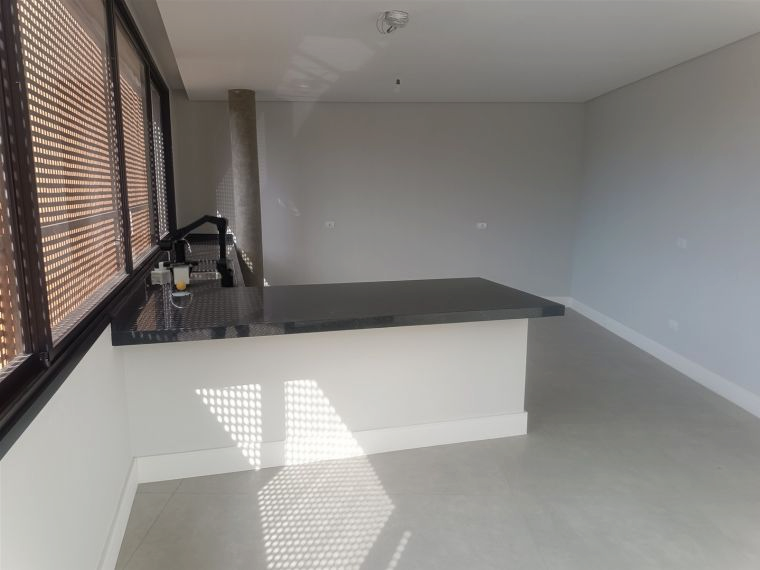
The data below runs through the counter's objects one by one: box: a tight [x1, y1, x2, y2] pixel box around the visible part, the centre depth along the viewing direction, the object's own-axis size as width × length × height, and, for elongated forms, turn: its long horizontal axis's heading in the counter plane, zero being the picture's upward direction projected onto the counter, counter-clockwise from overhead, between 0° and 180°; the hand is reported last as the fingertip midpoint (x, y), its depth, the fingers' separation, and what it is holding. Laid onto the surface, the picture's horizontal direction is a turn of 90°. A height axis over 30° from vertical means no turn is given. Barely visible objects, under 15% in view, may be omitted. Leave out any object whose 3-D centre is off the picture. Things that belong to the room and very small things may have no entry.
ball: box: [176, 281, 187, 291], centre depth 292 cm, size 5×5×5 cm
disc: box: [171, 291, 191, 297], centre depth 281 cm, size 10×10×1 cm
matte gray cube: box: [173, 265, 190, 285], centre depth 301 cm, size 8×8×9 cm
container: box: [150, 261, 172, 286], centre depth 311 cm, size 8×8×13 cm
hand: (181, 278), depth 302 cm, fingers closed on matte gray cube, 8 cm apart
